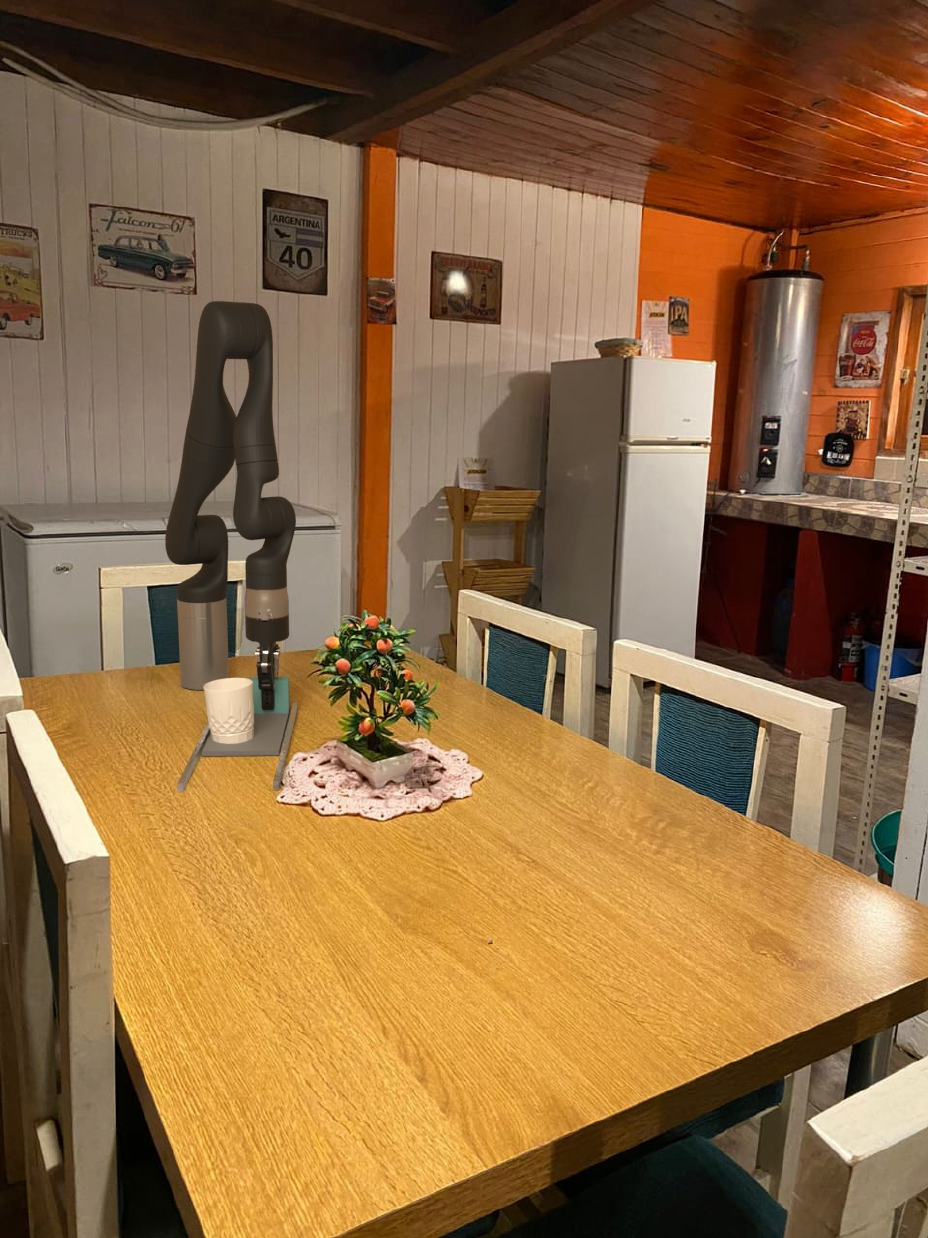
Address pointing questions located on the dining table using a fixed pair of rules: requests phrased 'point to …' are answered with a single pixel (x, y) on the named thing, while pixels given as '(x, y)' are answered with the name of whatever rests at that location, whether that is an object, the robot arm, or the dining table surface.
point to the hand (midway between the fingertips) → (269, 706)
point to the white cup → (230, 709)
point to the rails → (205, 736)
